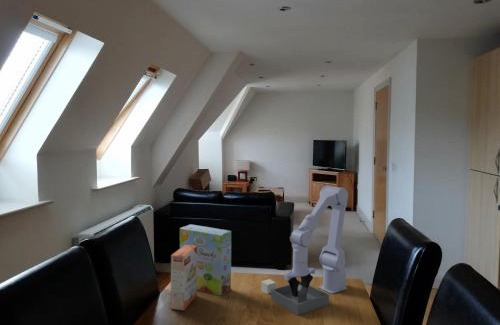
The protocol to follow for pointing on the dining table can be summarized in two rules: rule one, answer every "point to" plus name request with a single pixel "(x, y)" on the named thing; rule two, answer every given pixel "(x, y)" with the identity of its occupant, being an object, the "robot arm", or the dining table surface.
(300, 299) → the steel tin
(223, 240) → the snack box
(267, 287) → the white cube
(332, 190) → the robot arm
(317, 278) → the dining table surface
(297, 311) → the tote
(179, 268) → the cracker box
